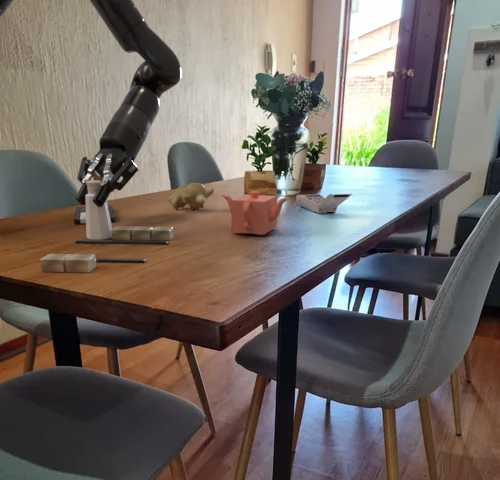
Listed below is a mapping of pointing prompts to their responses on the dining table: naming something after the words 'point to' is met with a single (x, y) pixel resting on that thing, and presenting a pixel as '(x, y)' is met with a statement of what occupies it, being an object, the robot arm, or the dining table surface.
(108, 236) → the pepper shaker
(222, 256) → the dining table surface
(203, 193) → the rhino figurine
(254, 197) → the teapot
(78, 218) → the chocolate bar
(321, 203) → the mobile phone
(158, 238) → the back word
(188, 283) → the dining table surface
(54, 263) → the front word
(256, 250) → the dining table surface
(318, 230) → the dining table surface
